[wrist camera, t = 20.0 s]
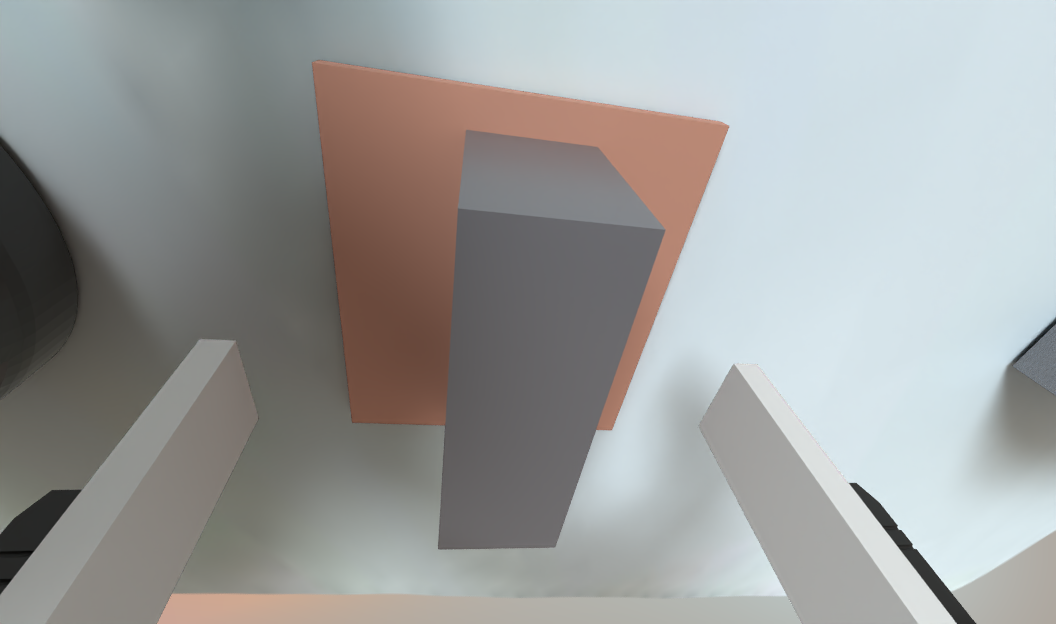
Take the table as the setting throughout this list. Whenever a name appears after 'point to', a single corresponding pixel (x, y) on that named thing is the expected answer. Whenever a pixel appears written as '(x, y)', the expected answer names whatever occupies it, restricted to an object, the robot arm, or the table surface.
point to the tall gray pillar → (534, 331)
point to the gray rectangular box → (1041, 361)
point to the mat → (432, 208)
